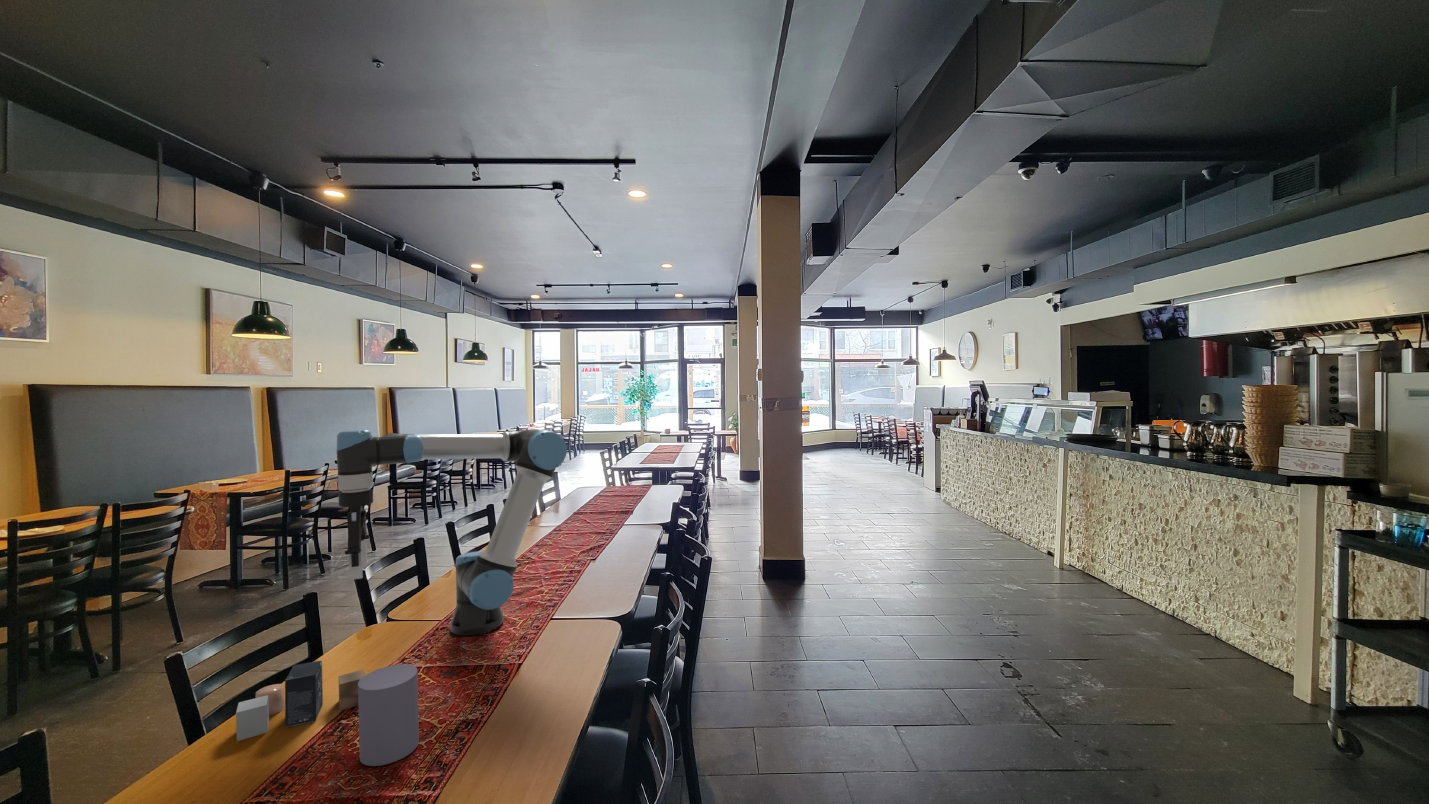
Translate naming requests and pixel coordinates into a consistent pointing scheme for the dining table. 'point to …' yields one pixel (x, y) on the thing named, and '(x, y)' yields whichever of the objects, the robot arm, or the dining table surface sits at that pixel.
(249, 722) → the slate block
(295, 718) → the box
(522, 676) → the dining table surface
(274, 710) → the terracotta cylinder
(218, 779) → the dining table surface
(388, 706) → the container
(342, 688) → the walnut block
